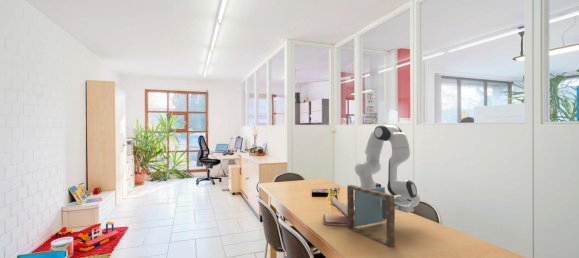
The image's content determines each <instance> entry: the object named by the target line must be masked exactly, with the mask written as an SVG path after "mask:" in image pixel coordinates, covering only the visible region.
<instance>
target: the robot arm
mask: <svg viewBox="0 0 579 258" xmlns="http://www.w3.org/2000/svg"><path fill="white" fill-rule="evenodd" d="M385 142H390V145H391V156H390V158H389V160H388V175H387V176H388V177H387V179H388V180H387V185H386V187H387V190H388V194H390V195H394V202H395V206H394V210H395V211H396V210H397V211H401V212H403V213H407V214H408V213H413V212H414V210H415V207H417V206H418V205H419V204H420V202H421V198H420V195H418V190H417V185H416V183H415V182H413V181H412V180H411V179H404V180H403V179H402V180H398V176H397V175H398V167H399V166H400V165H401V164H403V163H405V162H406V161H407V160H408V159H409V158H410V155H411V150H410V144H409V141H408V138H407V135H406V134H405V133H404V132H403V130H402V128H401V127H400V126H397V125H391V124H385V125H384V124H380V125H378V126H375V128H374V130H373V131H372V132H371V133H370V135H369V138H368V141H367V144H366V148H365V150H364V153H365V155H366V158H365V161H361V162H358V163H356V165H355V167H354V171H355V173H356V175H357V176H358V178H359V183H360V187H362V188H366V189H371V188H376V183H377V182H375V180H374V178H373V175H375V174H377V173H378V172H380V171H381V168H382V165H381V163H380V156H381V153H382V149H383V146H384V143H385ZM380 205H382V199H380ZM354 206H355V199H354Z"/></svg>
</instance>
